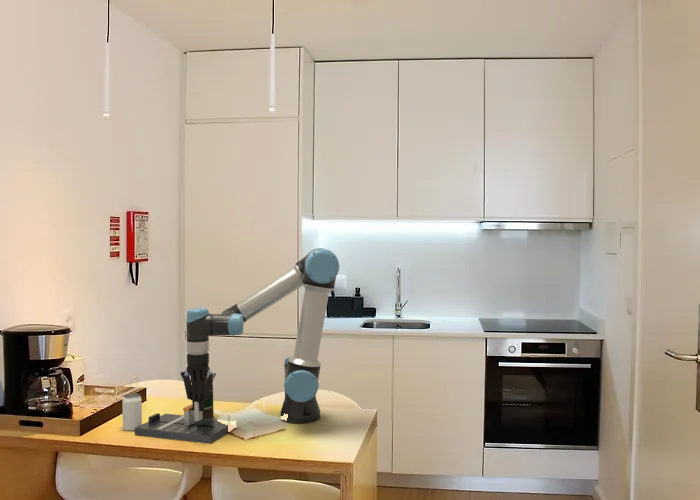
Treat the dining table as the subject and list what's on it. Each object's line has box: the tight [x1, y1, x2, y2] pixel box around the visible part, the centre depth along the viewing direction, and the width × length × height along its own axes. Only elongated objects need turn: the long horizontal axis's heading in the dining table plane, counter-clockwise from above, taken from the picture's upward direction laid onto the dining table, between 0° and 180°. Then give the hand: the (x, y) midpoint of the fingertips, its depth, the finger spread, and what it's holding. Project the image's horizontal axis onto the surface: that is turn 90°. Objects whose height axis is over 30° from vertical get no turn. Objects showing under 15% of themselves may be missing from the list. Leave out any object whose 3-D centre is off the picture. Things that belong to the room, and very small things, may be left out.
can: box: [122, 392, 143, 432], centre depth 224 cm, size 6×6×12 cm
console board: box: [134, 412, 229, 445], centre depth 220 cm, size 30×18×4 cm, turn 71°
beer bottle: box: [202, 375, 214, 418], centre depth 235 cm, size 8×8×24 cm
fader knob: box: [182, 403, 197, 425], centre depth 220 cm, size 2×5×6 cm, turn 161°
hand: (198, 419), depth 219 cm, fingers closed
